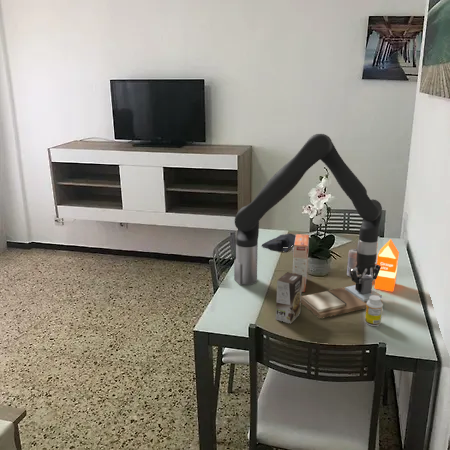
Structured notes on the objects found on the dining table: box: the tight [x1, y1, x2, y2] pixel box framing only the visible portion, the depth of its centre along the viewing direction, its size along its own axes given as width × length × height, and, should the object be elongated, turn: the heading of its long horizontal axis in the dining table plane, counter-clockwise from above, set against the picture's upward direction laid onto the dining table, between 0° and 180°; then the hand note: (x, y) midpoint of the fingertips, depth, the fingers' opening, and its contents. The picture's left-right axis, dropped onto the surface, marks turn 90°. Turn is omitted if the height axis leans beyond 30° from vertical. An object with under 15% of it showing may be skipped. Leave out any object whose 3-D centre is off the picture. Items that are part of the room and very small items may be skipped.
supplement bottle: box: [364, 295, 384, 327], centre depth 171 cm, size 6×6×10 cm
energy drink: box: [346, 248, 357, 278], centre depth 210 cm, size 5×5×12 cm
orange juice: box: [374, 238, 400, 292], centre depth 198 cm, size 8×9×20 cm
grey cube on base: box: [344, 274, 383, 302], centre depth 190 cm, size 9×12×7 cm
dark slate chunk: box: [261, 233, 296, 253], centre depth 250 cm, size 15×22×5 cm
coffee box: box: [275, 271, 302, 325], centre depth 175 cm, size 9×6×16 cm
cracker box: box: [292, 233, 310, 293], centre depth 200 cm, size 14×6×21 cm, turn 168°
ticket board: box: [301, 286, 367, 319], centre depth 186 cm, size 22×16×3 cm
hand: (363, 290), depth 191 cm, fingers closed on grey cube on base, 4 cm apart
